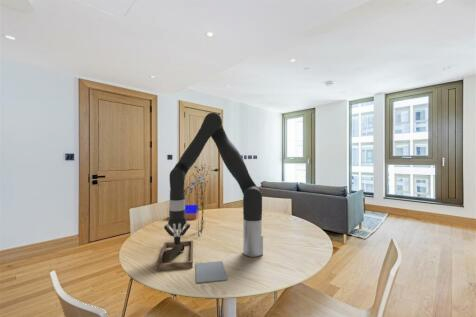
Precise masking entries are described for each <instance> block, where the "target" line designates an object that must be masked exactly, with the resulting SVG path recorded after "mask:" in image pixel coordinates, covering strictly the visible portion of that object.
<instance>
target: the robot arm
mask: <svg viewBox="0 0 476 317" xmlns="http://www.w3.org/2000/svg"><path fill="white" fill-rule="evenodd" d="M210 138H211V139H212V140H213V143H215V146H216V147H217V150H218V153H219V156H220V158H221V159H222V161H223V163H224V165H225V167H226V169H227V170H228V172H229V173H230V174H231V176H232V177H233V178H234V179H235V181H236V183H237V184H238V186H239V188H240V190H241V193H242V195H243V197H242V200H243V201H242V204H243V207H242V208H243V211H242V214H243V217H242V218H243V225H242V226H243V231H242V232H243V233H242V234H243V235H242V236H243V240H242V241H243V245H242V247H243V248H242V250H243V252H242V253H243V254H244V255H245V256H247V257H251V258H253V257H254V258H255V257H260V256H263V255H264V235H263V233H262V230H263V228H262V226H263V224H262V223H263V222H262V221H263V220H262V219H263V218H262V217H263V195H262V191H261V190H260V189H259V187H258V185H257V184H256V183H255V181H254V180H253V178H252V177H251V175H250V173H249V171H248V168H247V166H246V163H245V160H244V159H243V157H242V155H241V153H240V151H239V150H238V148H237V147H236V145H234V143H233V142H232V141H231V139H229V137H228V134H227V133H226V130H225V129H224V126H223V119H222V116H220V114H219V113H217V112H210V113H207V114H206V115H205V117H204V118H203V122H202V123H201V126H200V127H199V130H198V131H197V133H196V135H195V136H194V138H193V139H192V141H191V142H190V144H189V145H188V147H187V148H186V149H185V151H183V153H182V155H181V156H180V158H179V160H178V162H177V163H175V165H176V166H175V165H174V167H173V168H172V170H170V172H169V188H170V190H169V204H168V205H169V206H168V208H169V209H168V215H169V216H168V222H167V223H166V224H164V226H163V229H164V230H165V232H167V234H168V235H169V236H170V237H173V242H174V243H176V245H179V243H180V241H181V237H182V235H183V236H184V235H185V234H186V233H187V231H188V230H189V229H190V227H191V224H190V223H188V222H187V220H185V205H186V198H185V197H186V196H185V193H186V191H184V190H185V177H186V175H187V173H188V172H189V171H190V169H191V168H192V166H193V165H194V164H195V162H197V160H198V158H199V157H200V155H201V153H202V152H203V149H204V148H205V146H206V144H207V142H208V141H209V139H210ZM183 226H184V227H183ZM182 228H183V229H184V228H185V229H184V230H182V231H181V229H182ZM172 230H173V231H172Z"/></svg>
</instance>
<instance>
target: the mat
mask: <svg viewBox="0 0 476 317" xmlns="http://www.w3.org/2000/svg"><path fill="white" fill-rule="evenodd" d="M195 279H196V280H195V282H196V283H195V284H205V283H215V282H223V281H224V282H226V281H228V277H227V274H226V269H225V266H224V263H223V260H218V261H206V262H196V263H195Z"/></svg>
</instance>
